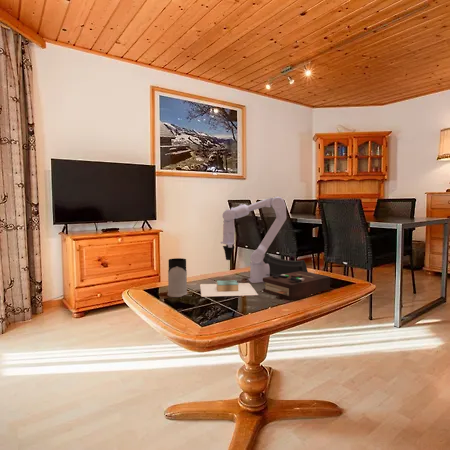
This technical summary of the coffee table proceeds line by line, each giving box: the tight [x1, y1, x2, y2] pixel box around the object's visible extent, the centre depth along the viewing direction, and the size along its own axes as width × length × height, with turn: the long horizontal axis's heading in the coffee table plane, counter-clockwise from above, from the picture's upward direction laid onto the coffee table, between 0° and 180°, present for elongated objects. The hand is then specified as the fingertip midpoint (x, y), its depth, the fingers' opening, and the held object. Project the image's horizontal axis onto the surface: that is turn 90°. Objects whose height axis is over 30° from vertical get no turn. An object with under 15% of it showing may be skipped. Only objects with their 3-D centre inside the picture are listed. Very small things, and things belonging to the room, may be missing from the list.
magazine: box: [263, 253, 309, 276], centre depth 178 cm, size 17×3×30 cm
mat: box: [199, 282, 259, 298], centre depth 149 cm, size 24×22×1 cm
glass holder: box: [167, 257, 188, 298], centre depth 144 cm, size 9×14×15 cm, turn 5°
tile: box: [216, 279, 239, 292], centre depth 149 cm, size 9×3×8 cm
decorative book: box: [262, 271, 331, 301], centre depth 147 cm, size 19×8×30 cm
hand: (228, 259), depth 169 cm, fingers closed
